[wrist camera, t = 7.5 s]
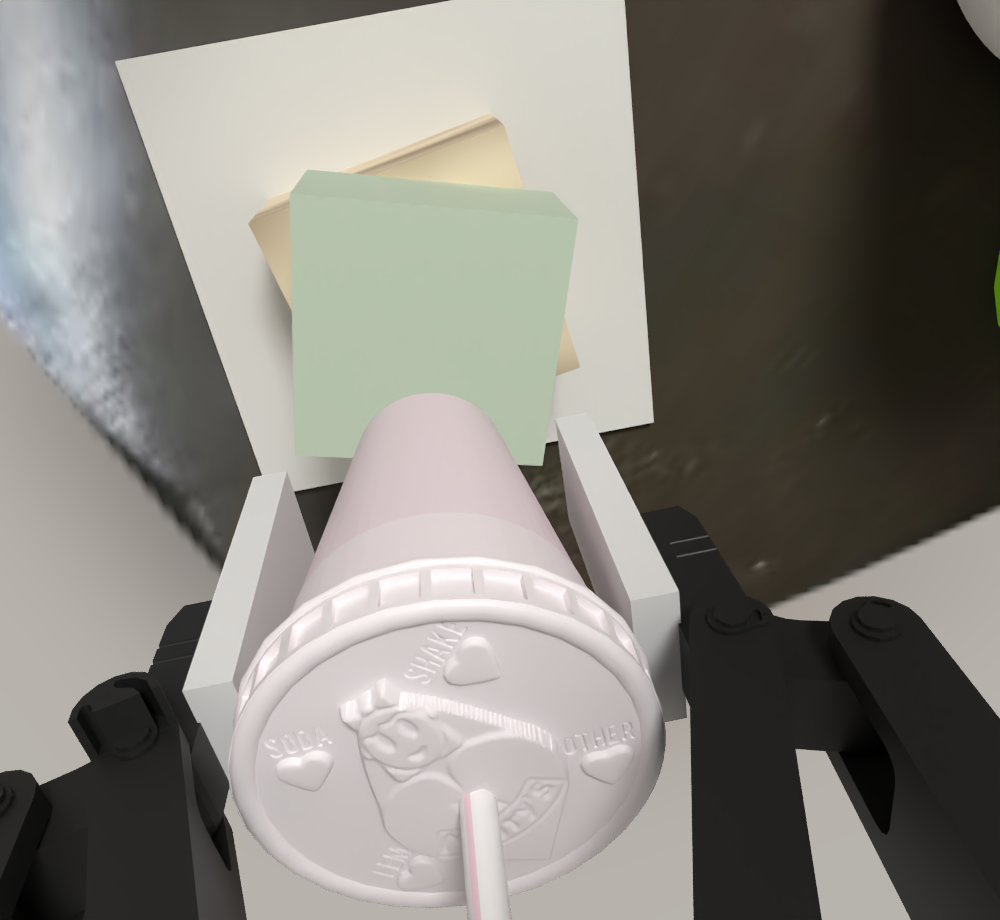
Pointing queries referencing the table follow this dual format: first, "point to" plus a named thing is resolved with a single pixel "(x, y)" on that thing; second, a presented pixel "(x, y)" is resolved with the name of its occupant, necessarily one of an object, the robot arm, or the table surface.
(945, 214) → the table surface
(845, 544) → the table surface
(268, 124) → the felt mat
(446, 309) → the sage block
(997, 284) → the wineglass
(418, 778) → the smoothie
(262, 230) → the beech tray
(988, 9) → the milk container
